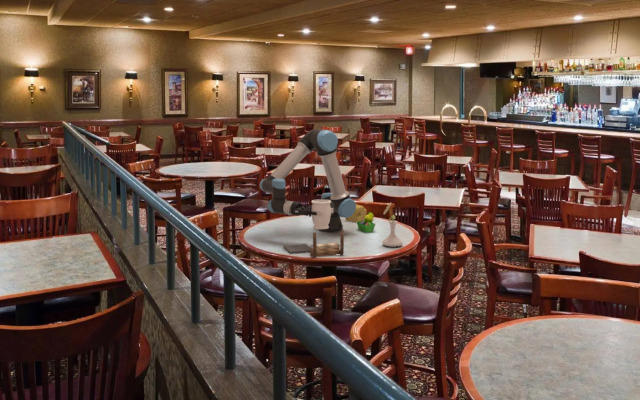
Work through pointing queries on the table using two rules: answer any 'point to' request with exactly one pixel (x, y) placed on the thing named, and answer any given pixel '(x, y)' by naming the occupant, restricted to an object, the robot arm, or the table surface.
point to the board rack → (327, 247)
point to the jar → (326, 208)
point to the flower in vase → (392, 238)
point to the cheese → (358, 214)
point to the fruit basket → (367, 223)
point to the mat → (297, 248)
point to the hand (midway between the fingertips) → (327, 212)
